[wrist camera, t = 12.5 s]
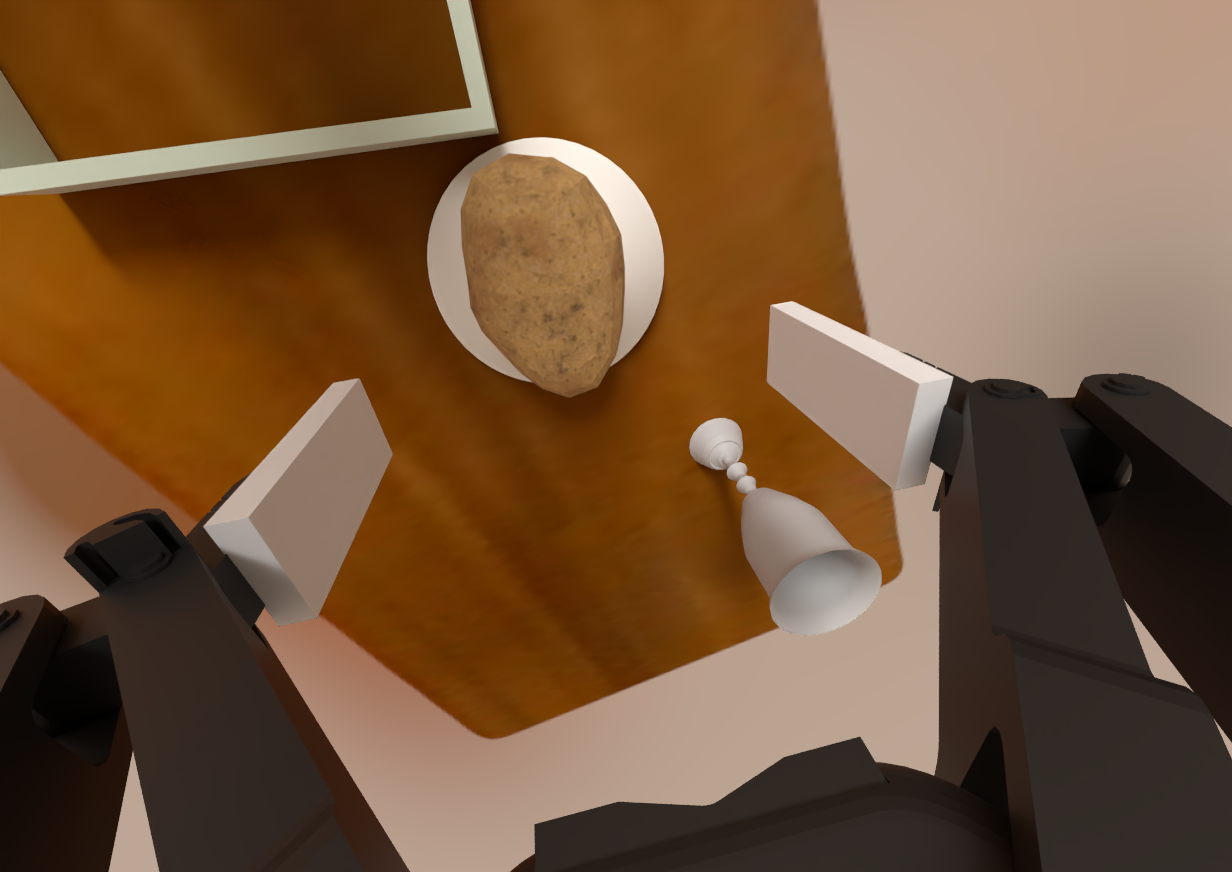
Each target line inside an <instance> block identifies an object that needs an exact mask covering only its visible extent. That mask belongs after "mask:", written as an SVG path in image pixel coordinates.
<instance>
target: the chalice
mask: <svg viewBox="0 0 1232 872" xmlns="http://www.w3.org/2000/svg"><path fill="white" fill-rule="evenodd" d="M742 444H743V442H742V432H741V429H740V428H739V426H738V424H736V423H735V422H734V421H732V420H729V419H726V418H715V419H712V420H709V421H707V422H705V423H704V424H702V425H701V426H699V427H698V429H697V430H696V431H695V432H694V433H693V435H692V438H691V440H690V446H689V449H690V453H691V455H692V457H693V458H694V460H695V461H697V462H698V463H700V464H702V465H705V466H707V467H710V468H711V469H715V470H724V469H727V468H728V470H727V476H728V478H729V479H731V480H737V489H738V491H740V492H742V493H745V494H746V495H747V496H746V497H745V498H744V500H743V504H742V518H741V532H742V539H743V546H744V551H745V555H746V558H747V560H748V561H749V563H750V565H751V567H752V568H753V570H754V572H755V573H756V575H757V577H758V579H759V580H760V582H761V584H762V585H763V587H764V589H765V591H766V592H767V594H768V596H769V597H770V611H771V615H772V619H773V620H774V622H775V623H776V624H777V625H778V626H779V628H781V629H783V630H785V631H787V632H789V633H791V634H798V635H805V636H806V635H816V634H823V633H826V632H829V631H832V630H835V629H838V628H840V627H842V626H844V625H846V624H847V623H849V622H851V621H853V620H854V619H855V618H857V617H858V616H859V615H860V614H861V613H862V612H864V611H865V610H866V609H867V608H868V607H869V605H870V604H871V603H872V602H873V600H874V599H875V598H876V596H877V593H878V591H879V588H880V586H881V583H882V581H881V569H880V567H879V565H878V564H877V562H876V560H875V559H873V558H872V557H870V556H869V555H867V554H866V553H864V552H862V551H859V550H856V549H854V548H852V546H851V545H850V544H849V543H848V542H847V541H846V540H845V539H844V537H843V536H842V535H841V534H840V533H839V532H838V531H837V530H836V528H835V527H834V526H833V525H832V524H831V523H830V522H829V521H828V519H827V518H826V517H825V516H824V515H823V514H822V513H821V512H820V511H819V510H817V509H816V508H814V507H813V506H811V505H809V504H807V503H805V502H803V501H801V500H799V499H798V498H796V497H794V496H791V495H787V494H784V493H781V492H778V491H775V490H772V489H769V488H758V489H757V488H756V486H755V485H756V480H755V479H754V478H753V477H751V476H747V475H746V473H747V467H746V465H745V464H743V463H737V461H738V460H739V459H740V457H741V455H742V451H743V445H742Z"/></svg>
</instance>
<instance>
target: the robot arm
mask: <svg viewBox="0 0 1232 872" xmlns="http://www.w3.org/2000/svg"><path fill="white" fill-rule="evenodd" d="M767 382H768V383H769V384H770V385H771V386H772V387H773V388H775V389H776V390H777V391H778V392H779V393H780V394H782V395H783V396H784V397H785V398H786V399H788V400H789V401H790V402H791V403H792V404H793V405H795V406H796V407H797V408H798V409H799V410H800V411H802V412H803V413H804V414H805V415H806V416H808V417H809V418H810V419H811V420H812V421H813V422H815V423H816V424H817V425H818V426H819V427H821V428H822V429H823V430H824V431H825V432H826V433H828V434H829V435H830V436H831V437H832V438H833V439H835V440H836V441H837V442H838V443H839V444H841V445H842V446H843V447H844V448H845V449H846V450H848V451H849V452H850V453H851V454H852V455H853V456H855V457H856V458H857V459H858V460H859V461H861V462H862V463H863V464H864V465H865V466H866V467H868V468H869V469H870V470H871V471H872V472H874V473H875V474H876V475H877V476H878V477H879V478H881V479H882V480H883V481H884V482H885V483H886V484H888V485H889V486H890V487H891V488H892V489H894V490H900V489H904V488H909V487H913V486H918V485H922V484H925V481H926V477H927V474H928V470H929V466H930V463H931V462H932V463H934V464H935V465H937V466H938V467H940V468H941V469H942V470H944V472H943V476H942V479H941V483H940V486H939V489H938V493H937V496H936V500H935V503H934V507H933V511H937V512H938V511H939V509H940V571H939V572H940V573H939V574H940V575H939V577H940V579H939V581H940V582H939V585H940V586H939V590H940V591H939V594H940V595H939V596H940V597H939V750H938V759H937V765H936V770H935V775H934V776H933V775H931V774H928V773H925V772H922V771H918V770H915V769H911V768H908V767H905V766H898V765H893V764H888V763H881V762H875V761H874V759H873V758H872V756H871V754H870V752H869V751H868V749H867V747H866V746H865V744H864V742H863V741H862V739H861V737H857V738H853V739H850V740H846V741H842V742H839V743H835V744H831V745H828V746H824V747H820V748H817V749H813V750H809V751H805V752H801V753H798V754H794V755H790V756H787V757H784V758H782V759H781V760H779V761H778V762H776V763H775V764H774V765H772V766H770V767H769V768H767V769H766V770H764V771H763V772H761V773H760V774H758V775H757V776H755V777H754V778H752V779H751V780H749V781H748V782H746V783H745V784H743V785H742V786H740V787H739V788H737V789H736V790H734V791H733V792H732V793H730V794H728V795H727V796H725V797H724V798H722V799H721V800H719V801H718V802H716V803H714V804H711V805H707V806H694V805H673V804H651V803H630V802H616V803H612V804H609V805H605V806H601V807H597V808H594V809H590V810H586V811H583V812H579V813H575V814H571V815H568V816H564V817H560V818H557V819H553V820H549V821H545V822H542V823H538V824H535V854H534V855H532V856H531V857H529V858H527V859H526V860H524V861H523V862H521V863H520V864H519V865H518V866H517V867H515V868H514V869H513V870H512V871H511V872H1232V759H1231V756H1230V754H1229V752H1228V750H1227V748H1226V745H1225V743H1224V741H1223V739H1222V736H1221V734H1220V732H1219V730H1218V727H1217V725H1216V723H1215V721H1216V722H1217V723H1218V725H1219V726H1220V727H1221V729H1222V730H1223V731H1224V733H1225V734H1226V735H1227V737H1228V738H1229V739H1230V741H1231V742H1232V427H1230V426H1229V425H1227V424H1225V423H1224V422H1222V421H1221V420H1219V419H1218V418H1216V417H1215V416H1213V415H1211V414H1210V413H1208V412H1206V411H1205V410H1204V409H1202V408H1201V407H1199V406H1197V405H1196V404H1194V403H1193V402H1191V401H1190V400H1188V399H1186V398H1185V397H1183V396H1182V395H1180V394H1178V393H1177V392H1175V391H1174V390H1172V389H1171V388H1169V387H1167V386H1165V385H1163V384H1160V383H1158V382H1155V381H1152V380H1148V379H1145V377H1142V376H1138V375H1131V374H1124V373H1119V374H1097V375H1091V376H1088V377H1085V378H1084V379H1083V381H1082V382H1081V385H1080V387H1079V389H1078V392H1077V394H1076V396H1075V397H1074V398H1048V397H1047V395H1046V394H1045V393H1044V392H1043V391H1042V390H1041V389H1039V388H1037V387H1035V386H1032V385H1029V384H1026V383H1023V382H1019V381H1014V380H1009V379H984V380H977V381H975V382H973V383H971V382H968V381H966V380H964V379H962V378H960V377H958V376H955V375H953V374H951V373H949V372H947V371H945V370H943V369H940V368H935V366H934V365H932V364H930V363H927V362H923V361H922V360H921V359H919V358H917V357H915V356H912V355H910V354H908V353H905V352H900V351H897V350H895V349H893V348H891V347H889V346H886V345H884V344H882V343H880V342H878V341H875V340H874V339H872V338H870V337H867V336H865V335H863V334H861V333H859V332H857V331H855V330H853V329H850V328H848V327H846V326H844V325H842V324H840V323H838V322H835V321H833V320H831V319H829V318H827V317H825V316H823V315H821V314H818V313H816V312H814V311H812V310H810V309H808V308H806V307H804V306H801V305H799V304H797V303H795V302H793V301H791V302H786V303H780V304H775V305H770V326H769V348H768V369H767ZM392 455H393V453H392V451H391V449H390V446H389V444H388V442H387V440H386V437H385V435H384V433H383V431H382V428H381V426H380V424H379V422H378V419H377V417H376V415H375V412H374V410H373V408H372V406H371V403H370V401H369V399H368V397H367V394H366V392H365V390H364V387H363V385H362V383H361V381H360V378H358V379H352V380H347V381H341V382H335V383H333V384H332V385H331V386H330V387H329V388H328V389H327V390H326V392H325V393H324V394H323V395H322V396H321V397H320V398H319V399H318V400H317V401H316V403H315V404H314V405H313V406H312V407H311V408H310V409H309V410H308V411H307V412H306V414H305V415H304V416H303V417H302V418H301V419H300V420H299V421H298V422H297V423H296V425H295V426H294V427H293V428H292V429H291V430H290V431H289V432H288V433H287V435H286V436H285V437H284V438H283V439H282V440H281V441H280V442H279V443H278V444H277V446H276V447H275V448H274V449H273V450H272V451H271V452H270V453H269V454H268V455H267V457H266V458H265V459H264V460H263V461H262V462H261V463H260V464H259V465H258V466H257V468H256V469H255V470H254V471H253V472H252V473H250V474H249V475H247V476H246V477H244V478H243V479H241V480H240V481H239V482H237V483H236V484H234V485H233V486H232V487H231V489H230V490H229V491H228V492H227V493H226V494H225V495H224V496H223V497H222V498H221V499H222V501H218V503H217V504H216V505H215V506H214V507H213V508H212V509H211V512H210V513H207V514H206V515H205V517H204V518H203V519H202V520H201V521H200V522H199V523H198V524H197V525H196V526H195V527H194V528H193V530H192V531H191V532H190V533H189V534H188V535H187V536H186V537H185V536H184V535H183V533H182V532H181V531H180V530H179V529H178V527H177V526H176V525H175V523H173V521H172V520H171V519H170V517H169V516H168V515H167V514H166V512H164V511H162V510H161V509H145V510H141V511H137V512H133V513H129V514H127V515H124V516H122V517H119V518H116V519H114V520H111V521H109V522H107V523H105V524H103V525H101V526H99V527H97V528H95V529H93V530H92V531H90V532H89V533H87V534H86V535H84V536H83V537H81V538H80V539H78V540H77V541H76V542H75V543H74V544H73V545H72V546H71V547H70V548H68V549H67V551H66V553H65V556H64V559H65V560H66V561H67V562H68V563H69V564H70V565H71V566H72V567H73V568H74V569H76V571H77V572H78V573H79V574H80V575H81V576H83V578H85V579H86V580H87V581H88V582H89V583H90V584H91V585H92V586H93V587H94V588H95V589H96V590H97V591H98V592H99V595H100V596H99V597H97V598H94V599H91V600H89V601H86V602H83V603H81V604H78V605H75V606H73V607H70V608H67V609H65V610H62V611H59V610H58V609H57V608H56V607H55V606H53V605H52V604H51V603H50V602H49V601H48V600H47V599H45V597H42V596H40V595H30V596H22V597H19V598H17V599H13V600H10V601H7V602H4V603H2V604H0V872H108V871H109V867H110V861H111V856H112V852H113V847H114V842H115V837H116V832H117V827H118V821H119V817H120V812H121V807H122V802H123V797H124V792H125V786H126V782H127V776H128V772H129V767H130V761H131V757H132V752H134V757H135V761H136V766H137V771H138V775H139V780H140V785H141V789H142V794H143V798H144V803H145V807H146V812H147V817H148V821H149V826H150V830H151V835H152V839H153V844H154V849H155V854H156V858H157V863H158V867H159V871H160V872H410V871H409V869H408V868H407V866H406V865H405V863H404V861H403V860H402V858H401V857H400V855H399V853H398V852H397V850H396V849H395V847H394V845H393V844H392V842H391V840H390V839H389V837H388V835H387V834H386V832H385V831H384V829H383V827H382V826H381V824H380V823H379V821H378V819H377V818H376V816H375V815H374V813H373V811H372V810H371V808H370V807H369V805H368V803H367V802H366V800H365V798H364V797H363V795H362V793H361V792H360V790H359V789H358V787H357V785H356V784H355V782H354V781H353V779H352V777H351V776H350V774H349V772H348V771H347V769H346V767H345V766H344V764H343V763H342V761H341V760H340V758H339V756H338V755H337V753H336V751H335V750H334V749H333V747H332V745H331V743H330V742H329V740H328V739H327V737H326V735H325V734H324V732H323V730H322V729H321V727H320V725H319V724H318V722H317V721H316V719H315V717H314V716H313V714H312V712H311V711H310V709H309V708H308V706H307V704H306V703H305V701H304V699H303V698H302V696H301V695H300V693H299V691H298V690H297V688H296V687H295V685H294V683H293V682H292V680H291V678H290V677H289V675H288V674H287V672H286V671H285V669H284V667H283V666H282V664H281V662H280V661H279V659H278V658H277V656H276V654H275V653H274V651H273V649H272V648H271V646H270V644H269V643H268V641H267V640H266V638H265V636H264V635H263V633H262V632H261V631H260V630H259V628H258V627H257V626H256V625H255V622H256V621H257V619H258V617H259V615H260V614H261V612H262V610H263V609H264V607H265V609H266V610H267V611H268V612H269V614H270V615H271V616H272V618H273V619H274V620H275V622H276V623H277V624H278V626H282V625H287V624H292V623H296V622H301V621H306V620H309V619H315V618H317V617H318V615H319V613H320V610H321V608H322V606H323V604H324V602H325V600H326V598H327V595H328V593H329V591H330V589H331V587H332V585H333V582H334V580H335V578H336V576H337V574H338V572H339V569H340V567H341V565H342V563H343V561H344V559H345V557H346V554H347V552H348V550H349V548H350V546H351V544H352V541H353V539H354V537H355V535H356V533H357V531H358V528H359V526H360V524H361V522H362V520H363V518H364V515H365V513H366V511H367V509H368V507H369V505H370V503H371V500H372V498H373V496H374V494H375V492H376V490H377V487H378V485H379V483H380V481H381V479H382V477H383V474H384V472H385V470H386V468H387V466H388V464H389V461H390V459H391V457H392ZM1129 479H1130V480H1129ZM1128 481H1129V482H1128ZM1123 598H1124V599H1123ZM1124 600H1125V601H1126V602H1127V604H1128V605H1129V606H1130V608H1131V609H1132V610H1133V612H1134V613H1135V614H1136V616H1137V617H1138V618H1139V620H1140V621H1141V622H1142V624H1143V625H1144V626H1145V628H1146V629H1147V630H1148V632H1149V633H1150V634H1151V636H1152V637H1153V638H1154V640H1155V641H1156V642H1157V644H1158V645H1159V646H1160V648H1161V649H1162V650H1163V652H1164V653H1165V654H1166V656H1167V657H1168V658H1169V660H1170V661H1171V662H1172V664H1173V665H1174V666H1175V667H1176V669H1177V670H1178V671H1179V673H1180V674H1181V676H1182V677H1183V678H1184V680H1185V681H1186V682H1187V684H1188V685H1189V686H1190V688H1191V689H1192V690H1193V692H1192V691H1191V690H1190V689H1188V688H1187V687H1185V686H1182V685H1178V684H1175V683H1171V682H1168V681H1165V680H1161V679H1158V678H1154V676H1153V674H1152V672H1151V670H1150V668H1149V665H1148V663H1147V660H1146V657H1145V654H1144V652H1143V649H1142V646H1141V644H1140V641H1139V639H1138V636H1137V633H1136V631H1135V628H1134V625H1133V623H1132V620H1131V617H1130V615H1129V612H1128V609H1127V607H1126V604H1125V602H1124ZM1213 718H1214V719H1215V721H1214V719H1213Z"/></svg>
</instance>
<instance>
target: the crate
mask: <svg viewBox="0 0 1232 872" xmlns="http://www.w3.org/2000/svg"><path fill="white" fill-rule="evenodd" d="M447 3H448V8H449V12H450V16H451V21H452V25H453V29H454V33H455V38H456V42H457V46H458V51H459V55H460V59H461V64H462V68H463V72H464V77H465V81H466V85H467V89H468V94H469V98H470V102H471V107H472V108H465V109H458V110H450V111H442V112H435V113H427V114H420V115H412V116H404V117H397V118H389V119H381V120H374V121H366V122H359V123H351V124H343V125H336V126H328V127H320V128H313V129H305V130H298V131H290V132H282V133H275V134H267V135H259V136H252V137H244V138H237V139H229V140H221V141H214V142H206V143H198V144H191V145H183V146H176V147H168V148H160V149H153V150H145V151H137V152H130V153H122V154H115V155H107V156H99V157H92V158H84V159H76V160H69V161H61V162H58V160H57V158H56V157H55V155H54V154H53V152H52V151H51V149H50V147H49V146H48V144H47V143H46V141H45V139H44V138H43V136H42V135H41V133H40V132H39V130H38V128H37V127H36V125H35V124H34V122H33V121H32V119H31V117H30V116H29V114H28V113H27V111H26V110H25V108H24V106H23V105H22V103H21V102H20V100H19V98H18V97H17V95H16V94H15V92H14V91H13V89H12V87H11V86H10V84H9V83H8V81H7V80H6V78H5V76H4V75H3V73H2V72H1V70H0V196H12V195H39V194H60V193H68V192H75V191H82V190H90V189H97V188H104V187H111V186H119V185H126V184H133V183H141V182H148V181H155V180H163V179H170V178H177V177H185V176H192V175H199V174H207V173H214V172H221V171H229V170H236V169H243V168H251V167H258V166H265V165H272V164H280V163H287V162H294V161H302V160H309V159H316V158H324V157H331V156H338V155H346V154H353V153H360V152H368V151H375V150H382V149H390V148H397V147H404V146H411V145H419V144H426V143H433V142H441V141H448V140H455V139H463V138H470V137H477V136H485V135H492V134H499V132H498V127H497V122H496V118H495V113H494V108H493V103H492V99H491V94H490V89H489V85H488V80H487V75H486V71H485V66H484V61H483V56H482V52H481V47H480V42H479V38H478V33H477V28H476V24H475V19H474V14H473V9H472V5H471V0H447Z"/></svg>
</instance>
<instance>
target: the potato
mask: <svg viewBox="0 0 1232 872" xmlns="http://www.w3.org/2000/svg"><path fill="white" fill-rule="evenodd" d="M461 239H462V251H463V257H464V263H465V269H466V275H467V282H468V290H469V299H470V308H471V310H472V312H473V314H474V316H475V318H476V320H477V322H478V324H479V327H480V329H481V331H482V332H483V333H484V334H485V336H486V337H487V338H488V339H489V340H490V341H491V342H492V343H493V344H494V345H495V346H496V347H497V349H498V350H499V351H500V352H501V353H502V354H503V355H504V356H505V357H506V358H507V359H508V360H509V361H510V362H511V363H512V365H513V366H514V367H515V368H516V369H517V370H518V371H519V372H520V373H521V374H522V375H524V376H525V377H526V378H528V379H529V380H531V381H532V382H533V383H535V384H536V385H537V386H539V387H540V388H541V389H544V390H547V391H550V392H553V393H556V394H559V395H562V396H565V397H568V398H570V397H572V396H575V395H578V394H581V393H583V392H586V391H589V390H591V389H594V388H597V387H598V386H599V384H600V383H601V381H602V379H603V377H604V376H605V374H606V372H607V370H608V369H609V367H610V365H611V364H612V362H613V360H614V358H615V357H616V354H617V350H618V345H619V340H620V335H621V330H622V325H623V314H624V296H625V263H624V254H623V245H622V237H621V233H620V230H619V228H618V226H617V224H616V222H615V220H614V218H613V216H612V214H611V212H610V210H609V208H608V206H607V204H606V202H605V201H604V200H603V198H602V197H601V196H600V194H599V193H598V191H597V190H596V189H595V187H594V186H593V184H592V183H591V182H590V180H589V179H588V178H587V176H586V175H584V174H582V173H580V172H578V171H577V170H575V169H573V168H571V167H569V166H568V165H566V164H564V163H562V162H560V161H559V160H557V159H555V158H553V157H541V156H531V155H521V154H511V153H508V154H507V155H505V156H503V157H501V158H500V159H498V160H496V161H494V162H493V163H491V164H489V165H487V166H486V167H484V168H482V169H480V170H479V171H477V172H475V173H473V174H472V177H471V180H470V183H469V186H468V189H467V192H466V195H465V198H464V201H463V204H462V207H461Z"/></svg>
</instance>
